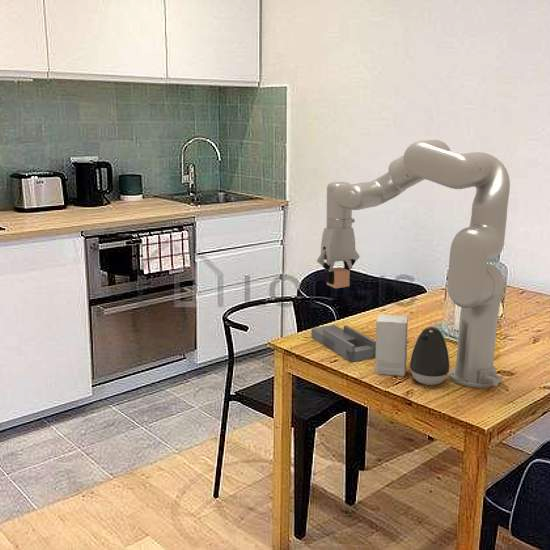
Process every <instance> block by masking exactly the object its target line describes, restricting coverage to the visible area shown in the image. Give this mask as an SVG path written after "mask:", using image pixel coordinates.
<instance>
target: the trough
mask: <svg viewBox="0 0 550 550" xmlns="http://www.w3.org/2000/svg"><path fill="white" fill-rule="evenodd" d="M310 334H311V339H313V340H315V341H317V342H318V343H319V344H321V345H323V346H324V347H326V348H328V349H329V350H330V351H332V352H334V353H335V354H337V355H338V356H341V357H342V358H343V359H345V360H347V361H348V362H350V363H356V362H360V361H366V360H371V359H376V339H372V338H371V337H370V336H367V335H365V334H363V333H361V332H360V331H358V330H356V329H354V328H352V327H350V326H348V325H347V324H346V325H343V328H341V327H339V326H337V325H336V324H330V325H324V326H320V327H313V328H311V333H310Z"/></svg>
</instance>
